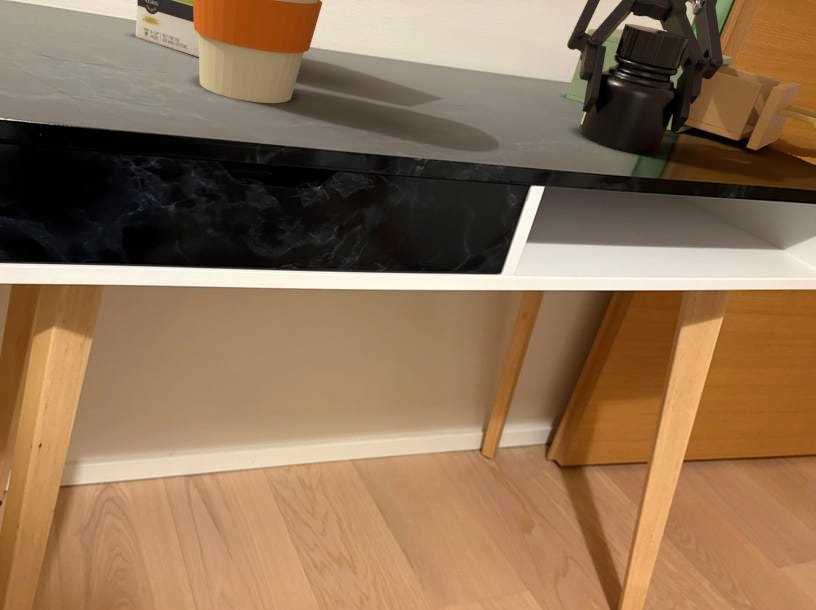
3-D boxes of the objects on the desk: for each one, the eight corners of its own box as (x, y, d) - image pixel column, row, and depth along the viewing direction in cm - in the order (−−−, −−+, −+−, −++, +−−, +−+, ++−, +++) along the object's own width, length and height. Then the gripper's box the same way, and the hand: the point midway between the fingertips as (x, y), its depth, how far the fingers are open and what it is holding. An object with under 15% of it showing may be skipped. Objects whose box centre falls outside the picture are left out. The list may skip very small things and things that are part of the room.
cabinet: (705, 125, 112) (733, 57, 107) (676, 134, 102) (706, 60, 97) (601, 93, 119) (624, 29, 114) (565, 99, 109) (588, 28, 104)
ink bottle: (626, 135, 95) (665, 28, 89) (675, 160, 88) (721, 46, 82) (559, 128, 92) (595, 16, 86) (605, 153, 85) (648, 34, 79)
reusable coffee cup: (312, 90, 85) (338, -68, 77) (304, 119, 74) (334, -61, 66) (193, 67, 84) (208, -95, 76) (168, 93, 73) (182, -93, 66)
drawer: (822, 154, 104) (850, 97, 100) (805, 165, 95) (836, 103, 91) (671, 108, 113) (692, 54, 110) (642, 115, 104) (664, 56, 101)
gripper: (737, -13, 94) (718, 155, 88) (556, -51, 95) (525, 112, 89) (773, -61, 87) (754, 117, 81) (577, -103, 88) (544, 71, 82)
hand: (634, 114), depth 85 cm, fingers closed on ink bottle, 9 cm apart
